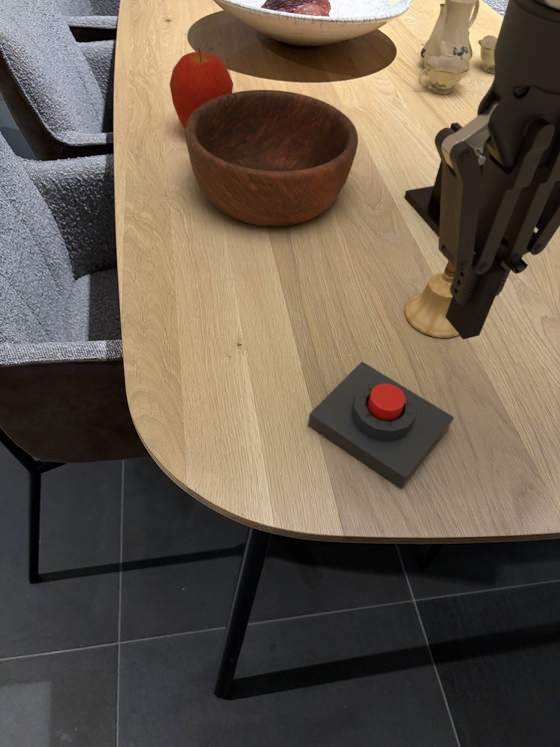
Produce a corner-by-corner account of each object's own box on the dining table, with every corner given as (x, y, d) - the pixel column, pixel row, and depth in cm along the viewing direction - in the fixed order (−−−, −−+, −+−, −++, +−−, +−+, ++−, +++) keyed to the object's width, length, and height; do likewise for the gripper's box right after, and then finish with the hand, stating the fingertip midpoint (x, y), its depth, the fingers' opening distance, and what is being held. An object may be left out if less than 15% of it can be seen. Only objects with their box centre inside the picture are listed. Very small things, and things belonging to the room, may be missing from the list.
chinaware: (446, 114, 118) (480, 25, 105) (380, 76, 123) (405, -13, 110) (516, 75, 132) (554, -8, 119) (454, 43, 138) (484, -40, 124)
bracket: (494, 231, 91) (528, 145, 80) (443, 241, 88) (471, 155, 78) (452, 188, 98) (478, 104, 88) (404, 197, 96) (425, 112, 85)
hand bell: (400, 292, 81) (430, 187, 68) (461, 295, 81) (501, 191, 69) (408, 337, 75) (442, 231, 63) (474, 340, 75) (520, 235, 63)
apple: (180, 149, 101) (174, 63, 90) (167, 121, 107) (160, 37, 96) (240, 142, 104) (240, 57, 93) (223, 115, 110) (222, 32, 99)
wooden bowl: (252, 134, 106) (253, 73, 98) (376, 185, 97) (389, 123, 90) (154, 196, 92) (147, 131, 84) (290, 262, 83) (296, 197, 76)
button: (408, 405, 63) (412, 395, 62) (390, 426, 61) (393, 416, 60) (379, 388, 65) (382, 377, 63) (361, 408, 63) (363, 397, 61)
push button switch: (448, 428, 66) (459, 406, 63) (401, 489, 61) (410, 468, 58) (358, 373, 71) (364, 350, 68) (307, 425, 65) (311, 403, 62)
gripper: (636, -38, 35) (502, 281, 52) (440, -24, 31) (368, 312, 49) (743, 8, 30) (557, 339, 48) (528, 30, 27) (413, 379, 44)
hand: (462, 325), depth 48 cm, fingers closed
